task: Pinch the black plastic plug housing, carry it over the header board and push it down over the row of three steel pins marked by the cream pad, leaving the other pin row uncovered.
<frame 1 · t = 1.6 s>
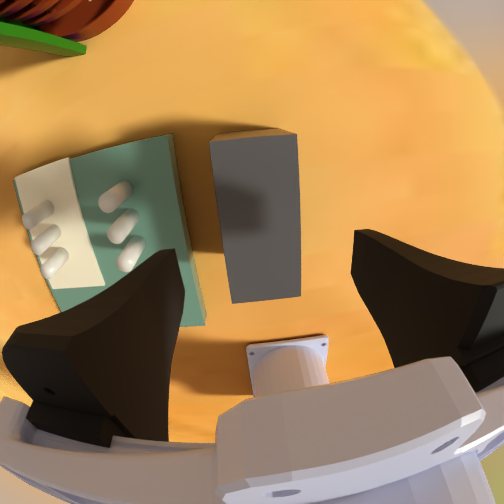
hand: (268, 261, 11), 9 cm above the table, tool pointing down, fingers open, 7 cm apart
plug housing: (254, 194, 19), on the table
header board: (107, 245, 21), on the table
green and brown cylinder: (86, 1, 11), on the table
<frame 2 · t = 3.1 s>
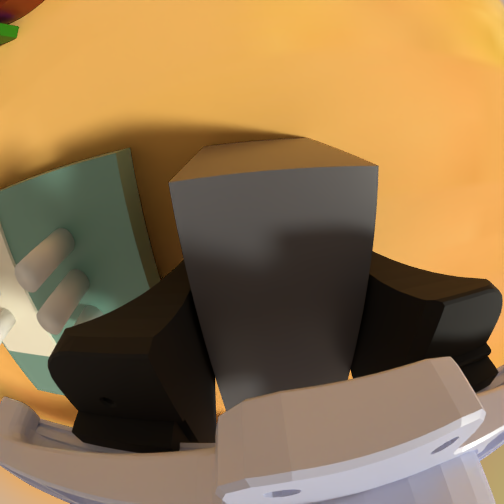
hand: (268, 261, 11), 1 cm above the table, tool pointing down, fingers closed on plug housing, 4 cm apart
plug housing: (264, 245, 12), on the table, touching gripper
header board: (60, 306, 13), on the table
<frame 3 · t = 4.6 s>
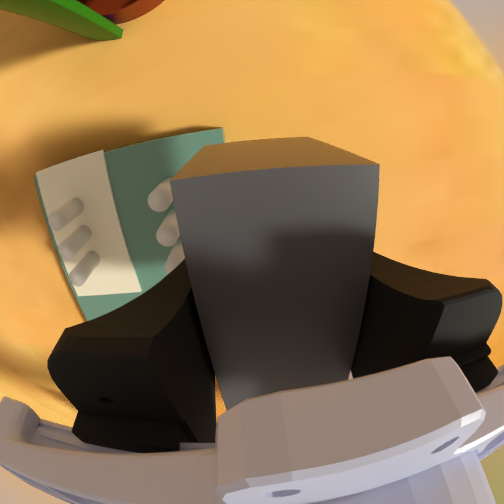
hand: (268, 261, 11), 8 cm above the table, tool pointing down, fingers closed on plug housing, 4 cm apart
plug housing: (265, 244, 12), point 7 cm above the table, touching gripper
header board: (143, 247, 20), on the table
when the fingers open (4 cm above the table, at t = 6.6 s): plug housing stays where it is, resting on header board.
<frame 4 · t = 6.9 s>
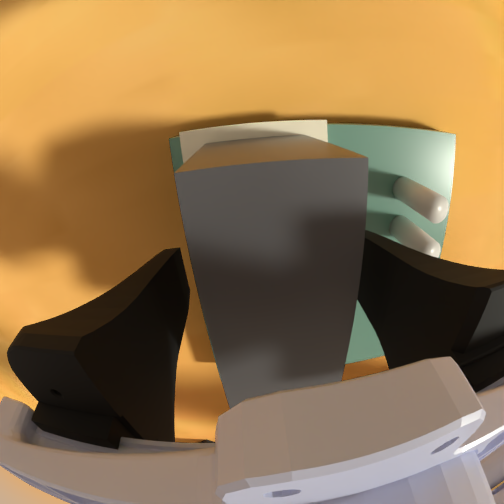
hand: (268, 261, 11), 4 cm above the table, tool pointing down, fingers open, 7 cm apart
plug housing: (264, 239, 13), point 2 cm above the table, touching header board
header board: (326, 262, 15), on the table
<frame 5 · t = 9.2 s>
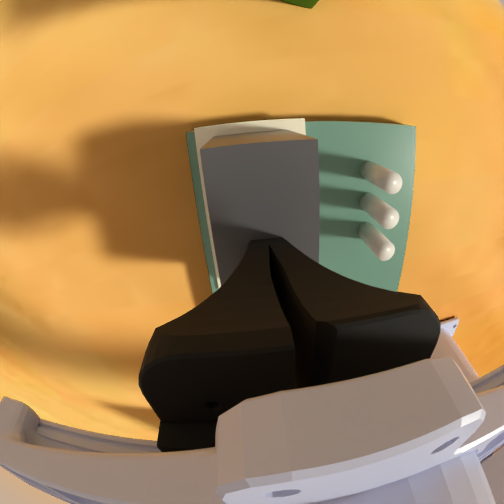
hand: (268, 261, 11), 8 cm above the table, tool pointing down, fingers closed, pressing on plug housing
plug housing: (258, 209, 16), point 2 cm above the table, touching gripper, header board
header board: (310, 232, 19), on the table
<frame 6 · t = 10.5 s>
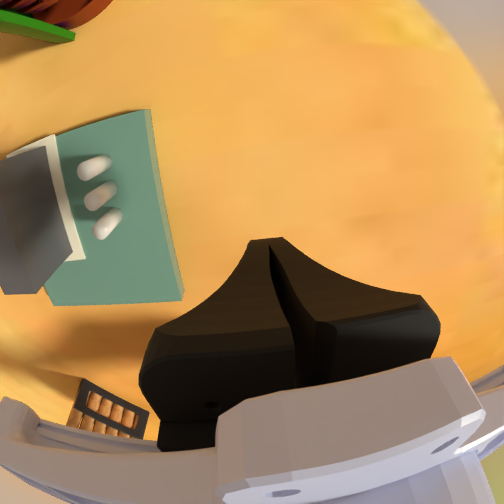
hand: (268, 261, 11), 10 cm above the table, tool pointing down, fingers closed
plug housing: (40, 205, 18), point 2 cm above the table, touching header board
ammunition clip: (115, 397, 32), on the table
header board: (88, 220, 20), on the table
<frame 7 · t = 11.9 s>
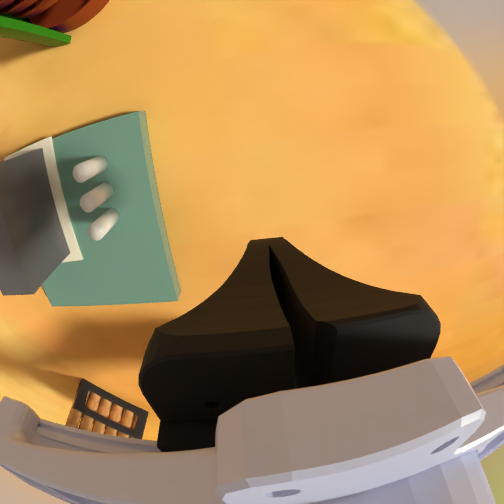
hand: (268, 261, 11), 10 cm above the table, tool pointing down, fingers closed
plug housing: (38, 206, 18), point 2 cm above the table, touching header board
ammunition clip: (114, 397, 32), on the table
header board: (85, 221, 20), on the table
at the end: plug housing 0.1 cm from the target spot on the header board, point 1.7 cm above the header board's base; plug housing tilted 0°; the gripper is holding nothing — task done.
